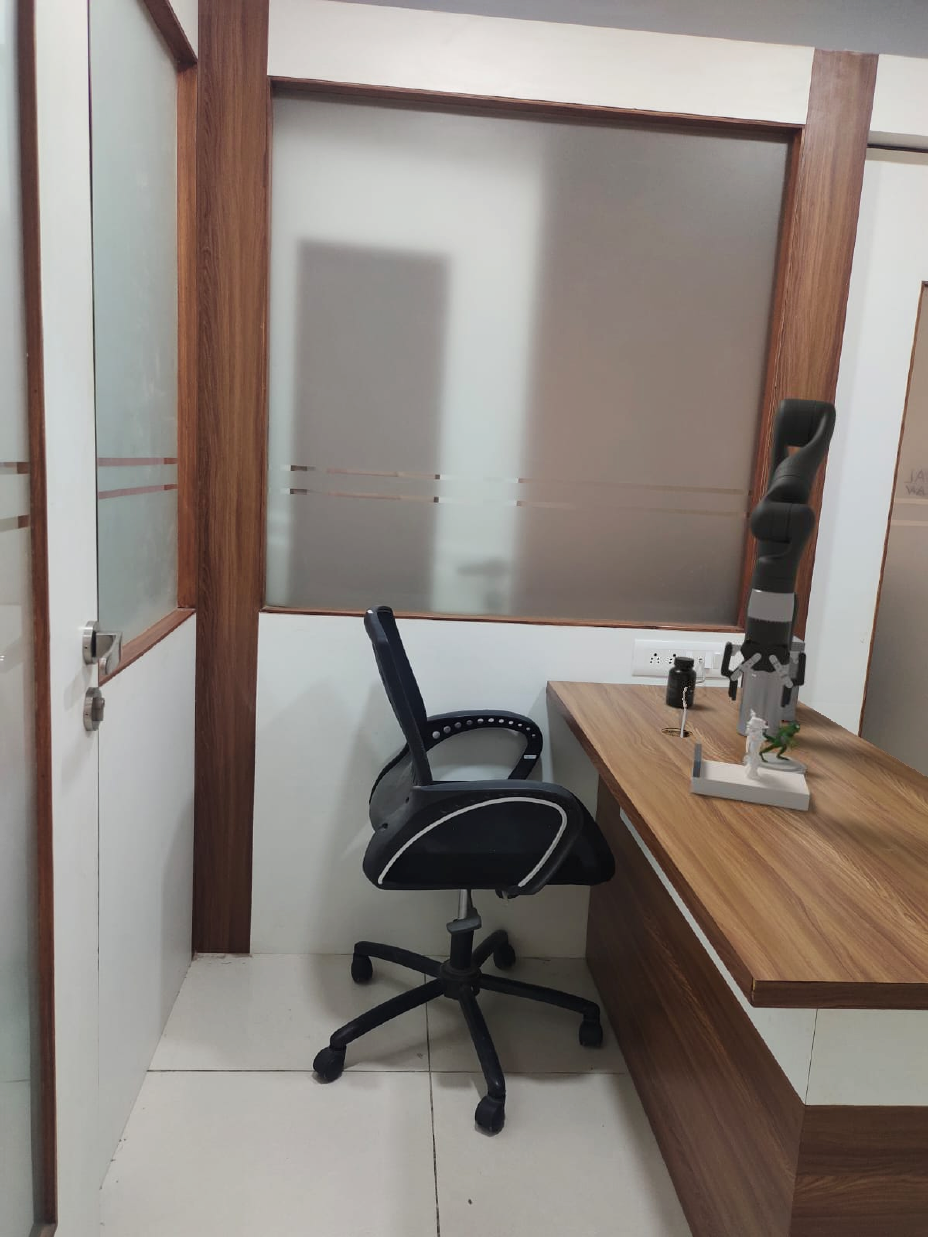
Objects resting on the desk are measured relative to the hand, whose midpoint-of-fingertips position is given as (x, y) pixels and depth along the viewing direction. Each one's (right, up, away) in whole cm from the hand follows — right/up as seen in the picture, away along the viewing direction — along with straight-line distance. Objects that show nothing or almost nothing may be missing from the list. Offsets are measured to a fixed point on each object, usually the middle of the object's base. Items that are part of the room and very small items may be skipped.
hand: (758, 703), depth 157 cm
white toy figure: (-1, -14, +2) cm, 14 cm away
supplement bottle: (+1, -7, +60) cm, 61 cm away
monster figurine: (+9, -15, +18) cm, 25 cm away
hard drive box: (+23, -8, +59) cm, 64 cm away
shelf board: (-1, -17, +3) cm, 17 cm away
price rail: (-10, -13, +5) cm, 17 cm away
